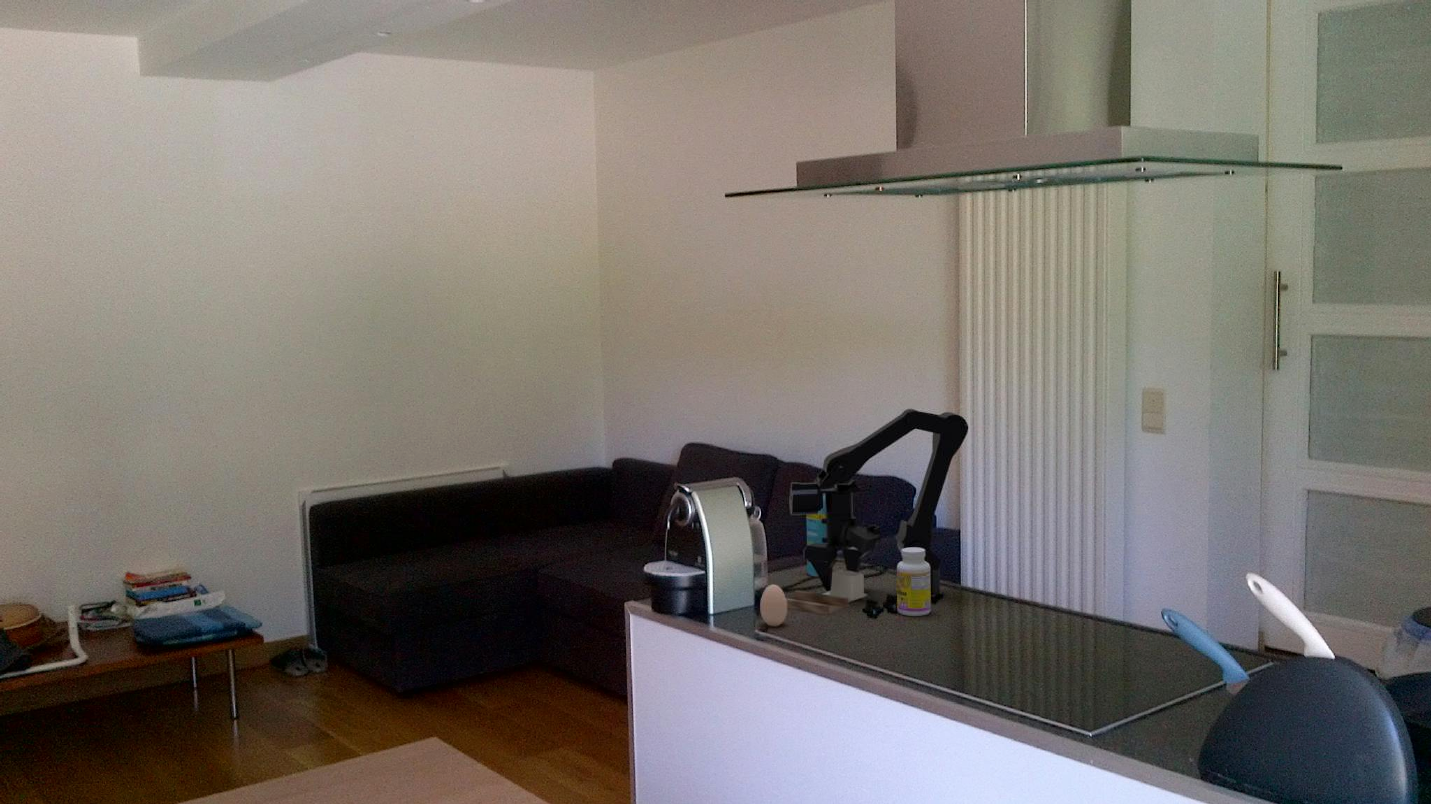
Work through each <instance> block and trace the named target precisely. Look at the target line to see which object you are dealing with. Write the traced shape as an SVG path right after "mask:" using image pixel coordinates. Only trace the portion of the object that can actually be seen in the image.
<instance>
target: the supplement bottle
mask: <svg viewBox="0 0 1431 804" xmlns="http://www.w3.org/2000/svg"><path fill="white" fill-rule="evenodd" d="M901 551H902V553H901V552H900V553H901V557H902V561H899V562H898V563H897V566H896V591H897V592H896V596H897V598H896V599H897V600H896V605H897V606H896V607H897V612H898V613H899V614H901V615H902V616H903V615H904V616H908V617H922V616H926V615H928V614H930V612H931V611H932V609H931V608H932V598H931V586H930V565H929V563H927V562H926V561H924V557H925V549H923V548H916V547H911V548H904V549H902V550H901Z"/></svg>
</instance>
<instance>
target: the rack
mask: <svg viewBox="0 0 1431 804" xmlns="http://www.w3.org/2000/svg"><path fill="white" fill-rule="evenodd" d="M786 600H787V610H788V609H790V610H795V611H801V612H807V613H812V614H819V615H825V616H827V615H829V614H832V613H836V612H838V611H841V610H844V609H846V608H848V607H849V605H850V604H849V603H850V602H849V599H848V598H843V597H837V596H831V595H824V594H823V593H818V592H817V593H816V592H813V591H812V592H811V591H804V590H799V589H796V590H794V591H793V599H792V598H786Z"/></svg>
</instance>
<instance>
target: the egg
mask: <svg viewBox="0 0 1431 804" xmlns="http://www.w3.org/2000/svg"><path fill="white" fill-rule="evenodd" d="M761 595H762V596H761V598H760V604H759V605H760V606H759V607H760V608H759V609H760V614H761V617H762V619H763V621H764V622H765V624H766V625H768V626H769V627H778V626H780V625H782V623H783V622H784V621H785V620H786V617H787V615H788V614H787V613H788V608H787V600H786V596H785V593H784V591H783V588H781V587H780V586H779V585H777V584H770V585H768V586H766V588H765V589H764V590H763V593H762V594H761Z"/></svg>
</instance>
